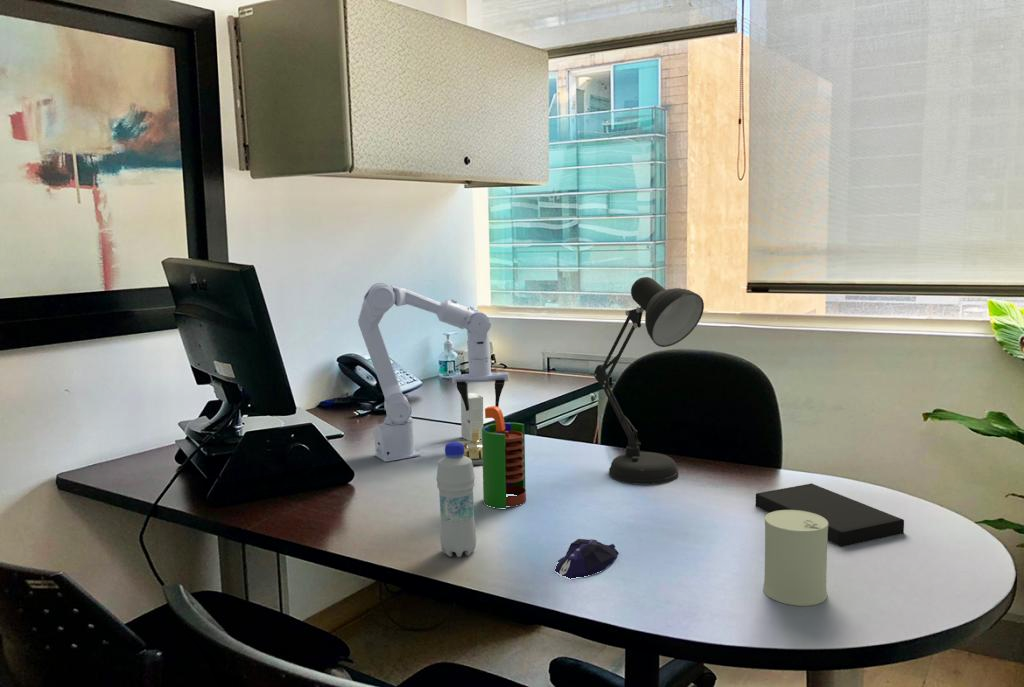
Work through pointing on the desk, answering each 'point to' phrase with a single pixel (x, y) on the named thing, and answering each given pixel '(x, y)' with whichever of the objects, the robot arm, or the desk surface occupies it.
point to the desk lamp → (666, 326)
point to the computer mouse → (586, 558)
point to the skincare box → (472, 416)
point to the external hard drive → (834, 513)
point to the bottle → (456, 501)
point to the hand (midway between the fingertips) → (482, 409)
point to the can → (795, 557)
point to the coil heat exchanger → (503, 461)
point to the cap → (476, 461)
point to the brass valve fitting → (473, 446)
